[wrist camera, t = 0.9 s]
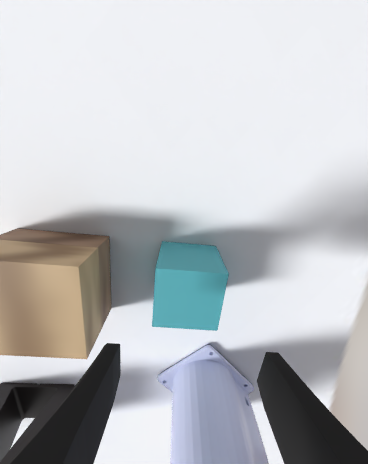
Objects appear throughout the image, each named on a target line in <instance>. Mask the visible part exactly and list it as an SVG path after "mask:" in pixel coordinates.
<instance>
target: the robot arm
mask: <svg viewBox="0 0 368 464" xmlns="http://www.w3.org/2000/svg"><path fill="white" fill-rule="evenodd" d="M119 378H120V344H111V343H107V344H106V345H105V346H104V347H103V349H102V350H101V352H100V353H99V354H98V356H97V357H96V359H95V360H94V362H93V363H92V364H91V366H90V367H89V369H88V370H87V371H86V373H85V374H84V375H83V377H82V378H81V379H80V380H79V382H78V383H77V384H76V386H75V387H74V388H73V389H72V391H71V392H70V393H69V395H68V396H67V397H66V398H65V400H64V401H63V402H62V403H61V404H60V406H59V407H58V408H57V409H56V410H55V412H54V413H53V414H52V415H51V416H50V418H49V419H48V420H47V421H46V422H45V424H44V425H43V426H42V427H41V428H40V429H39V430H38V432H37V433H36V434H35V435H34V436H33V437H32V438H31V440H30V441H29V442H28V443H27V444H26V445H25V446H24V447H23V448H22V449H21V451H20V452H19V453H18V454H17V455H16V456H15V457H14V458H13V459H12V460H11V461H10V462H9V464H93V463H94V460H95V457H96V454H97V451H98V448H99V445H100V442H101V439H102V436H103V433H104V430H105V427H106V424H107V421H108V418H109V415H110V412H111V409H112V406H113V402H114V399H115V395H116V391H117V387H118V382H119ZM158 381H159V382H160V383H161V384H163V385H164V386H165V387H166V388H168V389H169V390H170V391H172V392H173V396H172V427H171V458H170V464H268V459H267V455H266V452H265V448H264V445H263V442H262V438H261V435H260V432H259V428H258V425H257V422H256V419H255V415H254V412H253V409H252V405H251V402H250V399H249V395H248V394H249V393H251V392H252V391H253V390H254V388H253V385H252V384H251V383H250V382H249V381H248V380H247V379H246V378H245V377H244V376H242V375H241V374H240V373H239V372H238V371H237V370H236V369H235V368H234V367H233V366H232V365H231V364H230V363H229V362H228V361H227V360H226V359H225V358H224V357H223V356H222V355H221V354H220V353H218V352H217V351H216V350H215V349H214V348H213V347H212V346H211V345H206V346H205V347H203V348H201V349H200V350H198V351H196V352H195V353H193V354H192V355H190V356H188V357H187V358H185V359H183V360H182V361H180V362H179V363H177V364H175V365H174V366H172V367H170V368H169V369H167V370H166V371H164V372H162V373H161V374H159V375H158ZM257 383H258V387H259V391H260V395H261V398H262V402H263V405H264V409H265V412H266V414H267V417H268V420H269V423H270V426H271V428H272V431H273V434H274V437H275V439H276V442H277V445H278V447H279V450H280V453H281V456H282V458H283V461H284V464H368V451H367V450H366V449H365V448H364V447H363V446H362V445H361V444H360V443H359V442H358V441H357V440H356V439H355V437H354V436H353V435H352V434H351V433H350V432H349V431H348V430H347V429H346V428H345V427H344V426H343V425H342V424H341V423H340V422H339V421H338V420H337V419H336V418H335V416H333V415H332V413H331V412H330V411H329V410H328V409H327V408H326V407H325V406H324V405H323V403H322V402H321V401H320V400H319V399H318V398H317V397H316V396H315V395H314V393H313V392H312V391H311V390H310V389H309V388H308V387H307V386H306V384H305V383H304V382H303V381H302V380H301V379H300V377H299V376H298V375H297V374H296V373H295V372H294V371H293V369H292V368H291V367H290V366H289V365H288V364H287V362H286V361H285V360H284V359H283V358H282V357H281V356H280V354H279V353H274V352H266V354H265V357H264V360H263V364H262V367H261V370H260V373H259V376H258V379H257Z"/></svg>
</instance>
